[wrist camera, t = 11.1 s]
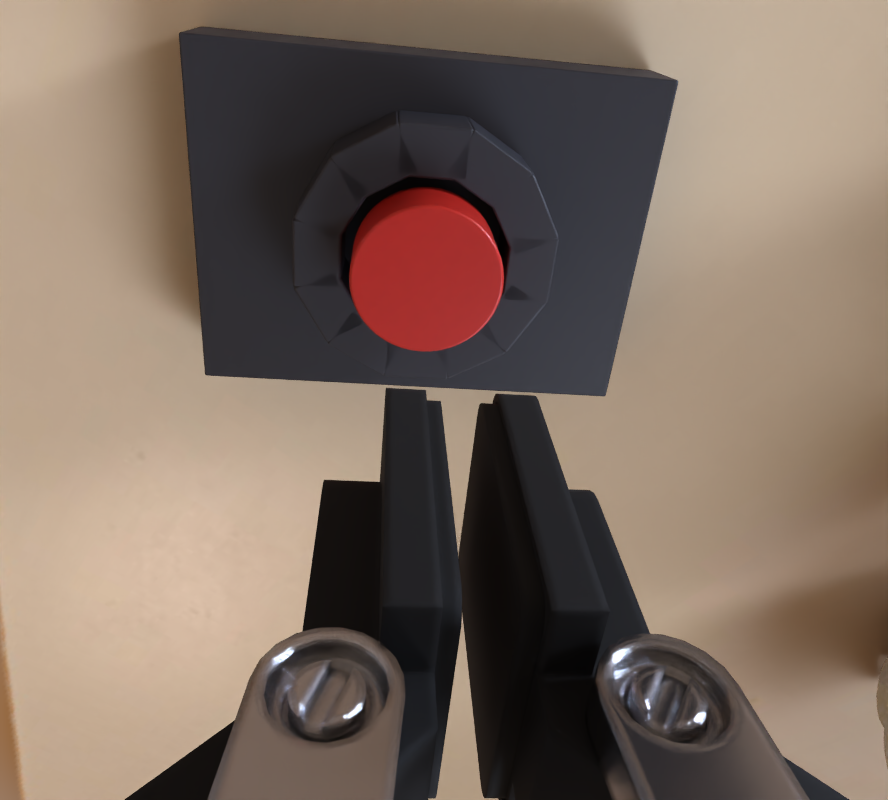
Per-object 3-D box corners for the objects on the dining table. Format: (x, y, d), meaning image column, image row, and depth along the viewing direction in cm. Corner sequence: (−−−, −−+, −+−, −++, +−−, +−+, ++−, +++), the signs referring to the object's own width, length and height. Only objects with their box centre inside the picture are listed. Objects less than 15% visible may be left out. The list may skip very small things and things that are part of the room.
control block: (220, 343, 23) (190, 407, 20) (199, 26, 19) (156, 37, 15) (589, 363, 24) (621, 428, 21) (652, 70, 20) (706, 90, 17)
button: (350, 319, 19) (346, 348, 18) (354, 179, 17) (351, 199, 16) (486, 327, 20) (493, 356, 18) (504, 192, 18) (514, 212, 16)
